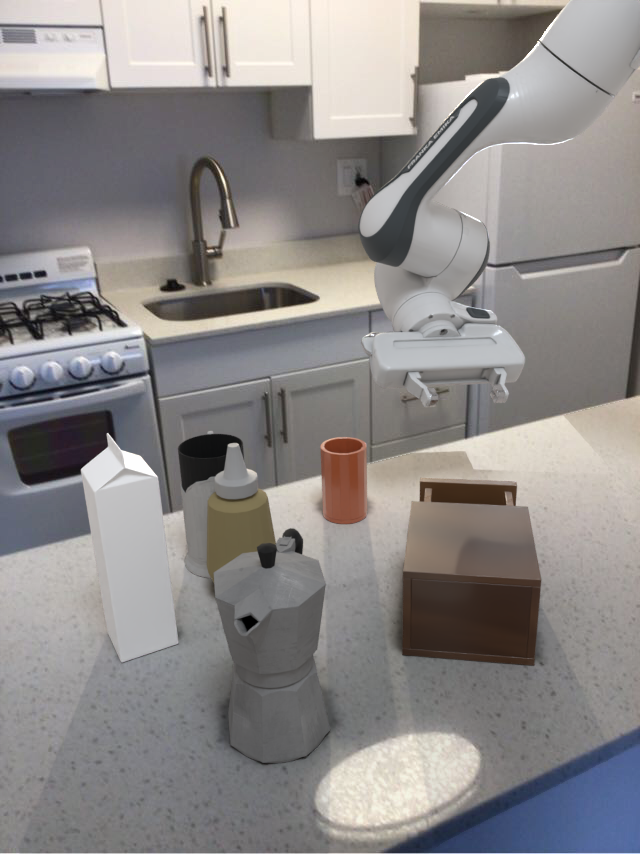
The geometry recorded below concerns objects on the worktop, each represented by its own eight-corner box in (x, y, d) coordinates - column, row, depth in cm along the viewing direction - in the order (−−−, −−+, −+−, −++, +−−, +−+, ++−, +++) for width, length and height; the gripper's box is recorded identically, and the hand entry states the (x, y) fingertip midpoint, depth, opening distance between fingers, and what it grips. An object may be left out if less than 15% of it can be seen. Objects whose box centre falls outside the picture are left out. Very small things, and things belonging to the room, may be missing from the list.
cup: (365, 502, 105) (364, 436, 102) (368, 523, 100) (367, 453, 96) (322, 504, 105) (320, 437, 102) (323, 524, 100) (320, 455, 96)
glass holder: (184, 581, 88) (171, 464, 83) (185, 524, 101) (174, 419, 96) (259, 573, 89) (251, 456, 84) (251, 517, 102) (243, 413, 97)
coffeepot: (313, 794, 59) (304, 598, 53) (200, 775, 61) (178, 585, 55) (350, 666, 73) (346, 499, 67) (257, 655, 75) (244, 492, 69)
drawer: (420, 517, 99) (421, 463, 96) (510, 521, 97) (514, 466, 94) (413, 594, 83) (414, 531, 80) (521, 601, 81) (525, 537, 78)
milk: (121, 664, 75) (87, 460, 67) (106, 631, 80) (73, 438, 72) (180, 643, 77) (154, 445, 69) (162, 613, 82) (136, 425, 74)
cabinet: (410, 574, 88) (411, 500, 84) (522, 581, 86) (528, 506, 82) (402, 655, 74) (402, 571, 71) (534, 665, 72) (541, 579, 69)
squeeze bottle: (264, 617, 81) (253, 464, 74) (196, 605, 84) (180, 456, 77) (291, 577, 88) (283, 434, 82) (228, 567, 91) (215, 427, 84)
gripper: (361, 314, 97) (393, 385, 88) (504, 311, 102) (549, 377, 93) (353, 353, 101) (382, 424, 92) (491, 347, 107) (532, 415, 97)
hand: (467, 401), depth 92 cm, fingers open, 8 cm apart
